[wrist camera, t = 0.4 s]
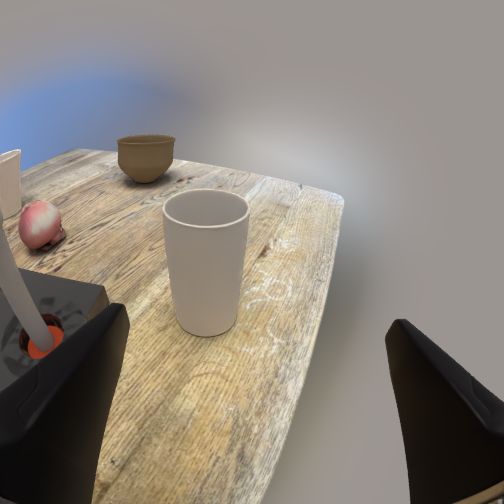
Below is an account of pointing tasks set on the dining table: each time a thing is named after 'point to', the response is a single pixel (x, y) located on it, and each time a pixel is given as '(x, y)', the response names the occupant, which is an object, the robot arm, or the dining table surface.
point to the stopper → (25, 304)
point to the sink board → (45, 317)
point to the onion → (40, 225)
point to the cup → (10, 183)
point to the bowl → (145, 156)
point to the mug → (205, 257)
